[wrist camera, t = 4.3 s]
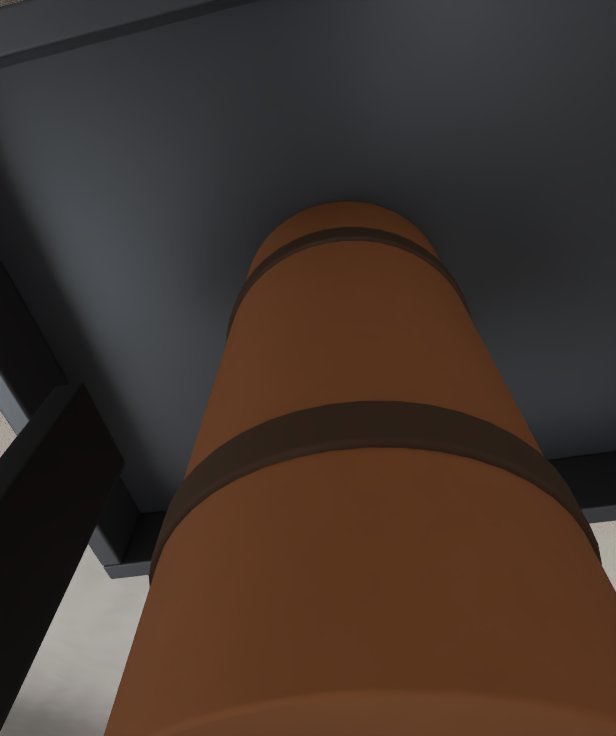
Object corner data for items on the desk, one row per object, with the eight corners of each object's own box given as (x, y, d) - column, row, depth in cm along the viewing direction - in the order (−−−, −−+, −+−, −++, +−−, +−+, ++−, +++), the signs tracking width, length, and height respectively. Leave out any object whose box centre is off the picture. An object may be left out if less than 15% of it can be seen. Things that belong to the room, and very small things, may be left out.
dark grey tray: (-121, 63, 14) (-227, 69, 11) (785, -183, 11) (934, -254, 8) (134, 517, 23) (110, 579, 20) (658, 448, 20) (708, 510, 17)
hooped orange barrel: (216, 221, 15) (-70, 723, 4) (439, 175, 14) (844, 649, 3) (270, 397, 18) (193, 932, 7) (453, 368, 18) (673, 923, 7)
